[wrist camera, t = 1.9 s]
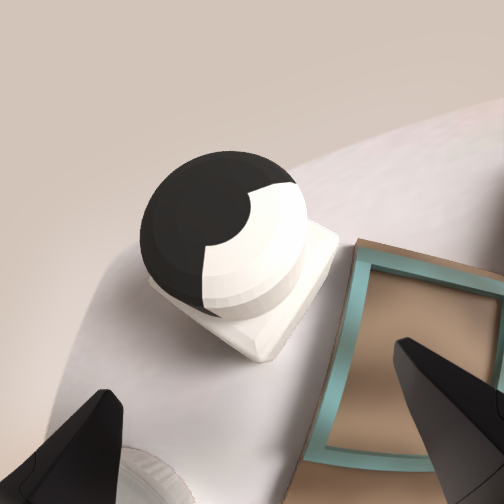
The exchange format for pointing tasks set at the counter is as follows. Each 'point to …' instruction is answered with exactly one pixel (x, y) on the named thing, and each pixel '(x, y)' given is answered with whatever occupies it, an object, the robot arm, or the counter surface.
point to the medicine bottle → (236, 249)
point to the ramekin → (149, 481)
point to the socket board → (394, 374)
